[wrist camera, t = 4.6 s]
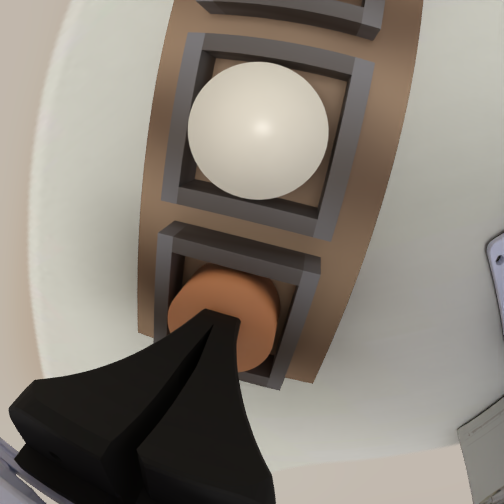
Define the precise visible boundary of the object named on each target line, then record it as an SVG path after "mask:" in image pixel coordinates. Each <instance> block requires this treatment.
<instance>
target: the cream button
mask: <svg viewBox="0 0 504 504" xmlns="http://www.w3.org/2000/svg"><path fill="white" fill-rule="evenodd" d="M328 130H329V128H328V119H327V115H326V111H325V108H324V106H323V103H322V101H321V99H320V97H319V96H318V94H317V92H316V91H315V90H314V89H313V87H312V86H311V85H310V84H309V83H308V82H307V81H306V80H305V79H304V78H303V77H301V76H300V75H298V74H297V73H296V72H294V71H292V70H290V69H288V68H286V67H283V66H280V65H277V64H273V63H268V62H248V63H242V64H238V65H235V66H232V67H230V68H228V69H226V70H224V71H222V72H220V73H219V74H217V75H216V76H214V77H213V78H212V79H211V80H210V81H209V82H208V83H207V84H206V85H205V86H204V87H203V88H202V90H201V91H200V92H199V94H198V95H197V97H196V99H195V101H194V103H193V106H192V108H191V111H190V116H189V121H188V139H189V145H190V149H191V152H192V155H193V157H194V160H195V162H196V163H197V165H198V167H199V168H200V170H201V171H202V172H203V174H204V175H205V176H206V177H207V178H208V179H209V180H210V181H211V182H212V183H213V184H215V185H216V186H217V187H219V188H220V189H222V190H224V191H225V192H227V193H230V194H232V195H234V196H238V197H241V198H246V199H255V200H263V199H271V198H276V197H280V196H282V195H285V194H288V193H290V192H292V191H294V190H295V189H297V188H298V187H300V186H301V185H303V184H304V183H305V182H306V181H307V180H308V179H309V178H310V177H311V176H312V175H313V174H314V172H315V171H316V170H317V168H318V166H319V165H320V163H321V161H322V159H323V157H324V154H325V151H326V148H327V142H328Z"/></svg>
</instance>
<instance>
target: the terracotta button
mask: <svg viewBox="0 0 504 504" xmlns="http://www.w3.org/2000/svg"><path fill="white" fill-rule="evenodd" d="M280 307H281V306H280V299H279V295H278V293H277V290H276V288H275V287H274V285H273V283H272V282H271V281H270V280H269V278H266V277H262V276H258V275H254V274H251V273H247V272H243V271H239V270H236V269H232V268H228V267H224V266H221V265H217V264H213V263H207V264H205V265H203V266H202V267H200V268H199V269H198V270H197V271H196V272H195V273H194V274H193V275H192V277H191V278H190V279H189V280H188V282H187V283H186V284H185V285H184V287H183V288H182V289H181V291H180V292H179V293H178V294H177V296H176V297H175V298H174V300H173V301H172V303H171V305H170V307H169V310H168V327H169V331H170V333H171V332H173V331H174V330H176V329H177V328H179V327H180V326H182V325H183V324H184V323H186V322H187V321H188V320H190V319H191V318H192V317H194V316H195V315H196V314H198V313H199V312H200V311H201V310H203V309H205V308H206V309H209V310H213V311H216V312H219V313H223V314H226V315H230V316H233V317H237V318H239V319H240V321H241V324H240V329H239V333H238V338H237V368H238V372H244V371H247V370H250V369H253V368H255V367H257V366H258V365H260V364H261V363H262V362H263V361H264V360H265V359H266V358H267V357H268V355H269V354H270V352H271V349H272V347H273V342H274V338H275V333H276V329H277V325H278V320H279V316H280Z"/></svg>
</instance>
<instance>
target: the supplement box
mask: <svg viewBox="0 0 504 504" xmlns="http://www.w3.org/2000/svg"><path fill="white" fill-rule="evenodd" d="M457 433H458V437H459V441H460V445H461V449H462V453H463V457H464V461H465V465H466V469H467V475H468V479H469V484H470V489H471V494H472V500H473V504H504V397H503V398H502V399H501V400H499V401H498V402H497V403H496V404H494V405H493V406H492V407H490V408H489V409H488V410H486V411H485V412H483V413H482V414H481V415H479V416H478V417H476V418H475V419H473V420H472V421H471V422H469V423H467V424H465V425H464V426H462V427H460V428H459V429H458V430H457Z"/></svg>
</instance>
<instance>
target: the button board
mask: <svg viewBox="0 0 504 504" xmlns="http://www.w3.org/2000/svg"><path fill="white" fill-rule="evenodd" d="M422 7H423V0H174V3H173V7H172V11H171V15H170V19H169V23H168V27H167V32H166V36H165V40H164V45H163V50H162V54H161V59H160V64H159V69H158V75H157V80H156V86H155V91H154V97H153V103H152V110H151V116H150V123H149V130H148V138H147V146H146V154H145V163H144V173H143V184H142V195H141V209H140V225H139V245H138V292H137V299H138V333H141V334H144V335H146V336H149V337H152V338H154V343H155V342H157V341H159V340H160V339H162V338H164V337H165V336H167V335H168V334H170V331H169V327H168V310H169V307H170V305H171V303H172V301H173V300H174V298H175V297H176V296H177V294H178V293H179V292H180V291H181V289H182V288H183V287H184V285H185V284H186V283H187V282H188V280H189V279H190V278H191V277H192V275H193V274H194V273H195V272H196V271H197V270H198V269H199V268H200V267H202V266H203V265H205V264H207V263H213V264H217V265H221V266H224V267H228V268H232V269H236V270H239V271H243V272H247V273H251V274H254V275H258V276H262V277H266V278H269V280H270V281H271V282H272V283H273V285H274V287H275V288H276V290H277V293H278V295H279V299H280V306H281V307H280V316H279V320H278V325H277V329H276V333H275V338H274V342H273V347H272V349H271V352H270V354H269V355H268V357H267V358H266V359H265V360H264V361H263V362H262V363H261V364H260V365H258V366H257V367H255V368H253V369H250V370H247V371H244V372H238V377H239V380H241V381H245V382H248V383H252V384H256V385H260V386H264V387H267V388H271V389H276V390H280V388H281V386H282V383H283V381H284V378H285V377H286V378H290V379H294V380H299V381H303V382H308V383H312V384H313V382H314V380H315V378H316V375H317V373H318V371H319V369H320V367H321V365H322V362H323V360H324V358H325V356H326V353H327V351H328V349H329V346H330V344H331V342H332V339H333V337H334V335H335V332H336V330H337V328H338V325H339V323H340V320H341V318H342V315H343V313H344V310H345V308H346V305H347V303H348V300H349V298H350V295H351V292H352V290H353V287H354V285H355V282H356V279H357V276H358V274H359V271H360V268H361V265H362V263H363V260H364V257H365V254H366V251H367V248H368V245H369V242H370V239H371V236H372V233H373V230H374V227H375V224H376V221H377V218H378V215H379V211H380V208H381V205H382V201H383V198H384V195H385V191H386V188H387V184H388V181H389V177H390V174H391V170H392V166H393V162H394V159H395V155H396V151H397V147H398V143H399V139H400V134H401V130H402V126H403V122H404V117H405V112H406V108H407V103H408V98H409V93H410V88H411V83H412V77H413V72H414V66H415V60H416V54H417V47H418V40H419V33H420V25H421V17H422ZM248 62H268V63H273V64H277V65H280V66H283V67H286V68H288V69H290V70H292V71H294V72H296V73H297V74H298V75H300V76H301V77H303V78H304V79H305V80H306V81H307V82H308V83H309V84H310V85H311V86H312V87H313V89H314V90H315V91H316V92H317V94H318V96H319V97H320V99H321V101H322V103H323V106H324V108H325V111H326V115H327V119H328V128H329V130H328V142H327V148H326V151H325V154H324V157H323V159H322V161H321V163H320V165H319V166H318V168H317V170H316V171H315V172H314V174H313V175H312V176H311V177H310V178H309V179H308V180H307V181H306V182H305V183H304V184H303V185H301V186H300V187H298V188H297V189H295V190H294V191H292V192H290V193H288V194H285V195H282V196H280V197H276V198H271V199H263V200H255V199H246V198H241V197H238V196H234V195H232V194H230V193H227V192H225V191H224V190H222V189H220V188H219V187H217V186H216V185H215V184H213V183H212V182H211V181H210V180H209V179H208V178H207V177H206V176H205V175H204V174H203V172H202V171H201V170H200V168H199V167H198V165H197V163H196V162H195V160H194V157H193V155H192V152H191V149H190V145H189V139H188V121H189V116H190V111H191V108H192V106H193V103H194V101H195V99H196V97H197V95H198V94H199V92H200V91H201V90H202V88H203V87H204V86H205V85H206V84H207V83H208V82H209V81H210V80H211V79H212V78H213V77H214V76H216V75H217V74H219V73H220V72H222V71H224V70H226V69H228V68H230V67H232V66H235V65H238V64H242V63H248Z"/></svg>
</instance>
